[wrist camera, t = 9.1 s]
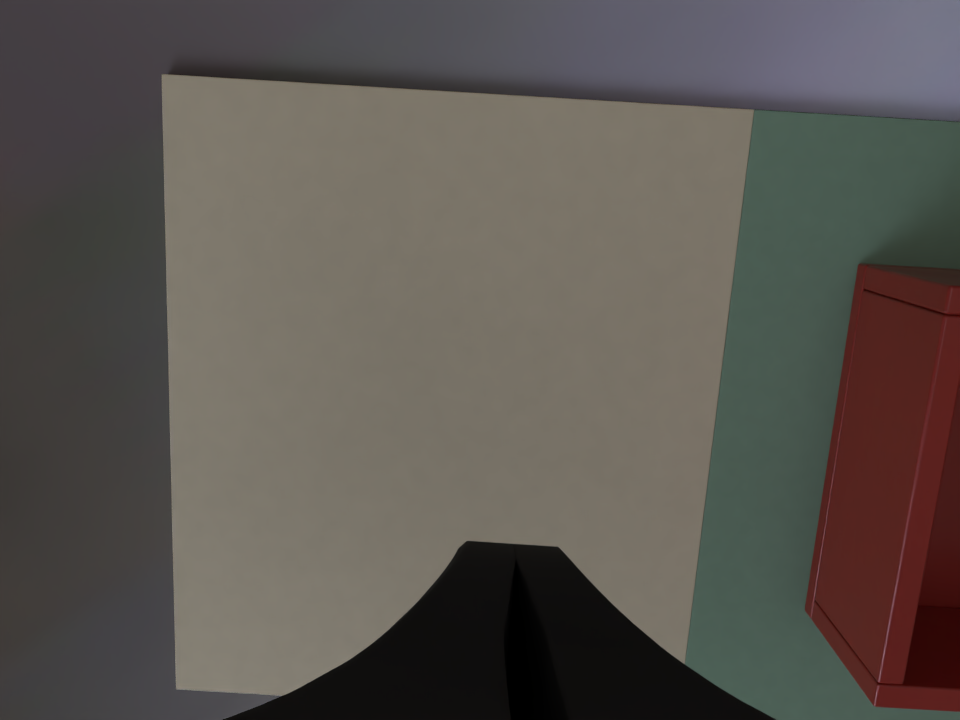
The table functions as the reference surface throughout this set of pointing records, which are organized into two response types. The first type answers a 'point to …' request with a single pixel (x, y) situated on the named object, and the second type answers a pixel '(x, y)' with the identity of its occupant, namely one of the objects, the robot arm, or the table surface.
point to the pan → (895, 493)
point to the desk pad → (518, 361)
